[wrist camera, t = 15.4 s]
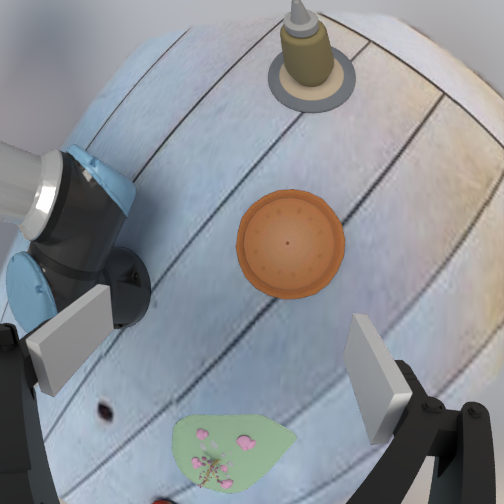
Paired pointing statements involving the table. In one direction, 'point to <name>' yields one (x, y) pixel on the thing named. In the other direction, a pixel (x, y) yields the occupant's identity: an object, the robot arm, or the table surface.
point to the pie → (290, 244)
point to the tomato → (162, 502)
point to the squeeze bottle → (306, 46)
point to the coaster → (313, 97)
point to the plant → (228, 449)
